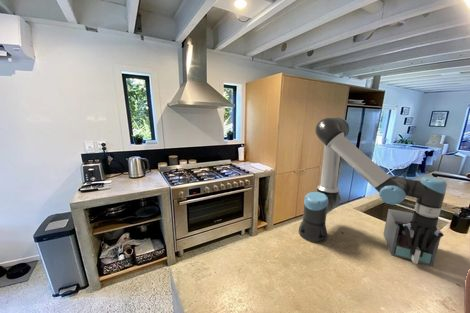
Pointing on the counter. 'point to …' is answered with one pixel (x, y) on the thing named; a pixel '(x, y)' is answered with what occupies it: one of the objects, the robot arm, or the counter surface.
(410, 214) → the housing
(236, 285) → the counter surface
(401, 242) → the pill bottle
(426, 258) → the tray
